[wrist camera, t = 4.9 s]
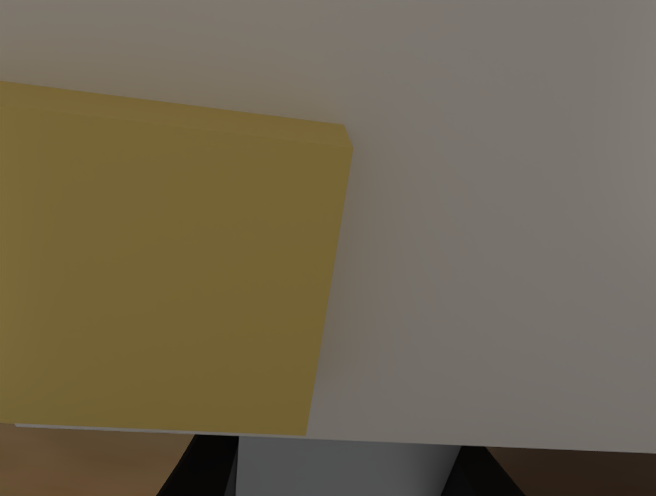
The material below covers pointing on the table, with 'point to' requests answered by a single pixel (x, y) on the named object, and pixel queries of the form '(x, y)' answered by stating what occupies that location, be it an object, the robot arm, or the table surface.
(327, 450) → the plug
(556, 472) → the table surface
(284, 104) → the socket box
